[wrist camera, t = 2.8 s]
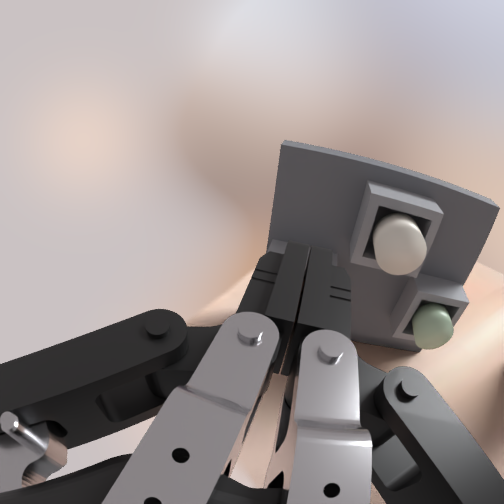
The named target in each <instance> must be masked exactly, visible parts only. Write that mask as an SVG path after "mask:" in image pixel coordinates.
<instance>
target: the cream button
mask: <svg viewBox="0 0 504 504" xmlns="http://www.w3.org/2000/svg"><path fill="white" fill-rule="evenodd" d="M372 239H373V245H374V250H375V256H376V261H377V263H378V265H379V266H380V268H381V269H382V270H384V271H385V272H387V273H389V274H392V275H404V274H408V273H410V272H412V271H414V270H416V269H417V268H418V267H419V266H420V265H421V264H422V262H423V261H424V259H425V256H426V251H427V246H426V242H425V240H424V238H423V235H422V233H421V231H420V229H419V227H418V225H417V223H416V222H415V220H414V219H413V218H412V217H410V216H408V215H406V214H403V213H392V214H389V215H387V216H385V217H383V218H382V219H381V220H379V222H378V223H377V224H376V226H375V228H374V230H373V235H372Z"/></svg>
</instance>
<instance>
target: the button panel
mask: <svg viewBox="0 0 504 504" xmlns="http://www.w3.org/2000/svg"><path fill="white" fill-rule="evenodd" d="M499 209H500V208H499V207H498V206H497V205H496V204H495V203H494V202H493V201H492V200H491V199H489V198H486V197H484V196H482V195H479V194H477V193H474V192H472V191H469V190H467V189H464V188H461V187H459V186H456V185H453V184H451V183H448V182H445V181H442V180H440V179H437V178H434V177H430V176H428V175H425V174H422V173H419V172H415V171H412V170H409V169H406V168H402V167H399V166H396V165H392V164H389V163H385V162H382V161H378V160H374V159H370V158H367V157H363V156H358V155H355V154H351V153H346V152H342V151H338V150H333V149H329V148H324V147H319V146H314V145H309V144H304V143H299V142H293V141H287V140H285V141H284V142H283V143H282V144H281V149H280V158H279V165H278V172H277V179H276V187H275V194H274V202H273V209H272V216H271V223H270V230H269V237H268V244H267V251H266V253H268V252H269V251H272V252H276V253H281V254H284V253H285V249H286V246H287V243H288V240H291V241H295V242H300V243H304V244H309V251H308V257H309V253H310V249H311V245H313V246H318V247H322V248H326V249H331V250H333V256H332V265H333V266H338V267H342V268H345V270H346V271H347V273H348V275H349V277H350V278H351V340H352V341H357V342H362V343H368V344H373V345H379V346H384V347H390V348H396V349H402V350H409V351H415V352H420V351H421V350H422V348H419V347H418V346H417V345H416V343H415V338H414V332H413V327H412V316H413V314H414V313H415V311H416V310H417V309H418V308H420V307H421V306H423V305H425V304H427V303H431V302H436V303H441V304H444V305H445V306H446V307H447V309H448V312H449V315H450V319H451V322H452V325H453V327H454V325H455V324H456V322H457V321H458V319H459V318H460V316H461V315H462V313H463V312H464V310H465V309H466V307H467V306H468V304H469V301H468V298H467V296H466V293H465V291H464V289H463V285H464V283H465V281H466V280H467V278H468V276H469V274H470V272H471V270H472V268H473V266H474V265H475V263H476V261H477V258H478V256H479V254H480V253H481V250H482V248H483V246H484V244H485V242H486V240H487V238H488V235H489V233H490V231H491V229H492V226H493V224H494V222H495V219H496V217H497V214H498V212H499ZM392 213H403V214H406V215H408V216H410V217H412V218H413V219H414V220H415V222H416V223H417V225H418V227H419V229H420V231H421V233H422V235H423V238H424V240H425V242H426V246H427V251H426V256H425V259H424V261H423V262H422V264H421V265H420V266H419V267H418V268H417V269H416V270H414V271H412V272H410V273H408V274H404V275H392V274H389V273H387V272H385V271H384V270H382V269H381V268H380V266H379V265H378V263H377V261H376V256H375V250H374V245H373V239H372V235H373V230H374V228H375V226H376V224H377V223H378V222H379V220H381V219H382V218H383V217H385V216H387V215H389V214H392ZM308 257H307V261H308ZM306 265H307V262H306ZM305 269H306V267H305Z"/></svg>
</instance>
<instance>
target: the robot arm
mask: <svg viewBox="0 0 504 504" xmlns="http://www.w3.org/2000/svg"><path fill="white" fill-rule="evenodd" d="M308 251H309V244H304V243H300V242H295V241H291V240H288V243H287V246H286V249H285V253H284V254H281V253H276V252H272V251H269V252H268V253H266V254H265V255H263V256H262V257H261V258H260V259H259V261H258V263H257V266H256V268H255V271H254V273H253V275H252V278H251V280H250V282H249V284H248V287H247V289H246V291H245V294H244V296H243V298H242V301H241V303H240V305H239V308H238V310H237V312H236V314H234V315H232V316H230V317H229V318H227V319H226V320H225V321H224V323H223V324H221V325H218V326H213V327H187V326H186V323H185V321H184V319H183V318H182V317H181V316H180V315H178V314H177V313H175V312H173V311H170V310H166V309H155V310H150V311H147V312H145V313H142V314H139V315H136V316H134V317H131V318H129V319H126V320H123V321H120V322H117V323H115V324H112V325H109V326H107V327H104V328H101V329H99V330H96V331H93V332H90V333H88V334H85V335H82V336H79V337H77V338H74V339H71V340H68V341H65V342H63V343H60V344H57V345H54V346H51V347H49V348H46V349H43V350H40V351H37V352H34V353H31V354H29V355H26V356H23V357H20V358H17V359H14V360H11V361H8V362H5V363H2V364H0V504H370V496H371V482H372V483H373V485H374V486H375V488H376V489H377V490H378V492H379V493H380V495H381V496H382V498H383V499H384V501H385V502H386V504H504V479H503V478H502V477H501V475H500V474H499V472H498V471H497V469H496V468H495V467H494V465H493V464H492V462H491V461H490V460H489V458H488V457H487V455H486V454H485V453H484V451H483V450H482V449H481V447H480V446H479V445H478V443H477V442H476V441H475V439H474V438H473V437H472V435H471V434H470V433H469V431H468V430H467V429H466V427H465V426H464V425H463V423H462V422H461V421H460V420H459V418H458V417H457V416H456V414H455V413H454V412H453V411H452V409H451V408H450V407H449V406H448V404H447V403H446V402H445V401H444V399H443V398H442V397H441V396H440V394H439V393H438V392H437V391H436V389H435V388H434V387H433V386H432V385H431V383H430V382H429V381H428V380H427V378H426V377H425V376H424V375H423V374H422V373H420V372H419V371H418V370H416V369H414V368H411V367H406V366H401V367H396V368H394V369H392V370H391V371H389V373H386V372H384V371H382V370H380V369H377V368H375V367H373V366H371V365H369V364H368V363H366V362H365V361H363V360H362V359H361V358H360V357H359V356H358V355H357V351H356V348H355V346H354V344H353V343H352V342H351V278H350V277H349V275H348V273H347V271H346V270H345V268H342V267H338V266H333V265H332V256H333V250H331V249H326V248H322V247H318V246H313V245H311V249H310V253H309V257H308ZM307 257H308V261H307ZM306 262H307V265H306ZM305 267H306V269H305ZM287 345H288V347H287ZM286 348H287V351H286ZM285 352H286V355H285ZM284 355H285V359H284V364H283V368H282V372H281V374H282V375H286V376H288V379H287V383H286V388H285V391H284V393H283V396H282V399H281V405H280V411H279V417H278V423H277V429H276V435H275V441H274V447H273V452H272V456H271V460H270V463H269V466H268V469H267V473H266V478H265V482H264V487H263V488H260V489H256V488H249V487H247V486H244V485H243V484H241V483H239V482H237V481H235V480H233V479H231V478H230V476H231V473H232V471H233V469H234V467H235V464H236V462H237V459H238V457H239V454H240V451H241V449H242V446H243V444H244V442H245V439H246V437H247V434H248V432H249V430H250V427H251V425H252V422H253V420H254V417H255V415H256V412H257V410H258V407H259V405H260V402H261V400H262V397H263V395H264V393H265V392H266V390H267V388H268V386H269V383H270V379H271V376H272V372H273V373H277V374H279V371H280V368H281V364H282V361H283V358H284ZM156 415H157V416H156ZM154 416H156V417H155V419H154V421H153V422H152V424H151V425H150V427H149V429H148V430H147V432H146V433H145V435H144V437H143V438H142V440H141V441H140V443H139V445H138V446H137V448H136V449H135V451H134V453H133V454H126V455H121V456H117V457H113V458H110V459H108V460H105V461H102V462H100V463H97V464H95V465H92V466H89V467H87V468H84V469H81V470H78V471H76V472H73V473H70V474H67V475H64V476H61V477H58V478H55V479H51V480H48V481H46V479H47V478H48V477H49V476H50V475H51V474H52V473H54V472H56V471H58V470H60V469H61V468H62V467H64V466H65V465H66V463H67V449H70V448H73V447H76V446H79V445H82V444H85V443H88V442H91V441H94V440H97V439H99V438H102V437H105V436H107V435H110V434H113V433H115V432H118V431H120V430H123V429H125V428H128V427H130V426H132V425H135V424H138V423H140V422H142V421H145V420H147V419H149V418H151V417H154Z"/></svg>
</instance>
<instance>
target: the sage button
mask: <svg viewBox="0 0 504 504" xmlns="http://www.w3.org/2000/svg"><path fill="white" fill-rule="evenodd" d="M412 327H413V332H414V338H415V343H416V345H417V346H418V347H419V348H422V349H435V348H438V347H440V346H442V345H444V344H445V343H447V342H448V341H449V340H450V338H451V337H452V335H453V331H454V329H453V325H452V322H451V319H450V315H449V312H448V309H447V307H446V306H445V305H444V304H441V303H436V302H431V303H427V304H425V305H423V306H421V307H420V308H418V309H417V310H416V311H415V313H414V314H413V316H412Z"/></svg>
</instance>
